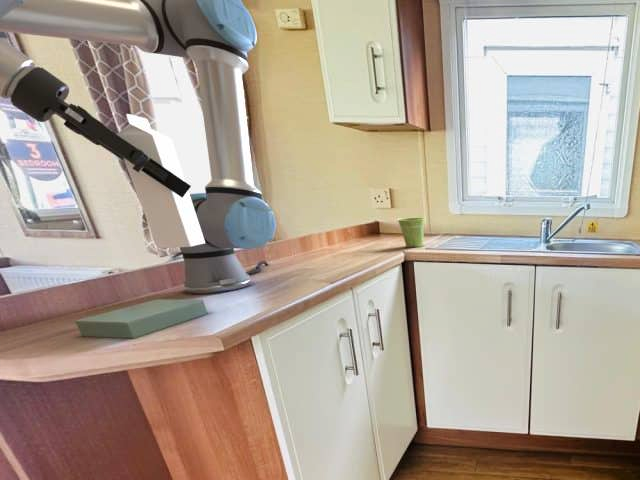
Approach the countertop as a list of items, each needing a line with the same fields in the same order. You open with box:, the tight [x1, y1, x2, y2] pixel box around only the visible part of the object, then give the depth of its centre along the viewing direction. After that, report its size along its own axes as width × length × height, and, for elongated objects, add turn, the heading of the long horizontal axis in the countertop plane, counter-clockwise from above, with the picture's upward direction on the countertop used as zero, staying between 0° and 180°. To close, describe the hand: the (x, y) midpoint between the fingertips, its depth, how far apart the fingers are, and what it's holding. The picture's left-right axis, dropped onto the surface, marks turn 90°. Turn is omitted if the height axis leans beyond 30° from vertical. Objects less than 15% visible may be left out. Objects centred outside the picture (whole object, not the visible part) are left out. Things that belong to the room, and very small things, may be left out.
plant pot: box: [396, 217, 427, 248], centre depth 180 cm, size 12×12×11 cm
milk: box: [115, 113, 205, 249], centre depth 79 cm, size 6×6×22 cm
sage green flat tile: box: [74, 298, 208, 339], centre depth 84 cm, size 16×12×3 cm
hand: (185, 192), depth 82 cm, fingers closed on milk, 8 cm apart
